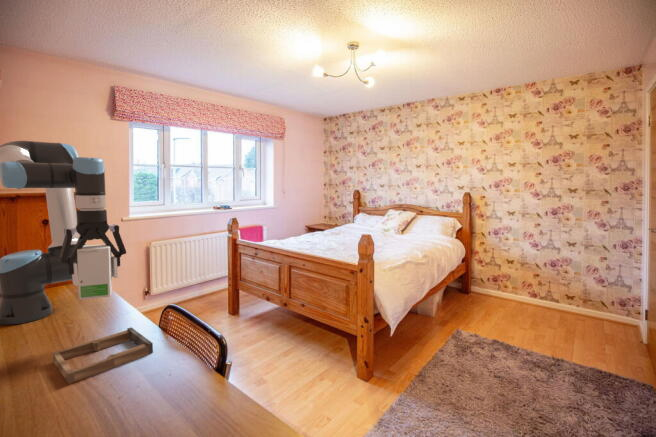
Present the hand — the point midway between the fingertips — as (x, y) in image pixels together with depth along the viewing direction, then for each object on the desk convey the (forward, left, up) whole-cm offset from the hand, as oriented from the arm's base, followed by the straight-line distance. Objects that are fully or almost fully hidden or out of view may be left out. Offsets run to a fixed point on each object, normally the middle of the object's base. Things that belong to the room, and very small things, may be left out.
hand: (95, 280), depth 104 cm
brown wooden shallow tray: (+14, -3, -19) cm, 24 cm away
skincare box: (0, 0, -5) cm, 5 cm away
